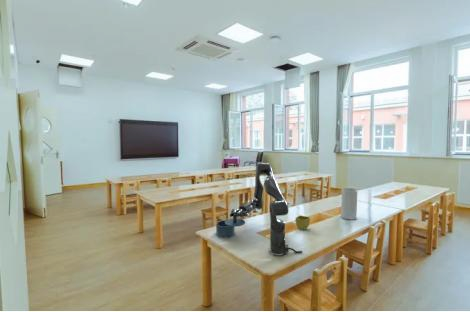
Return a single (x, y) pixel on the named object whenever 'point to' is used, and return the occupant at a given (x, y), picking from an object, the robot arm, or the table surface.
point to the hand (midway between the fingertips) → (232, 215)
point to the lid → (234, 221)
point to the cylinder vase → (349, 203)
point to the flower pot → (302, 222)
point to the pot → (224, 229)
